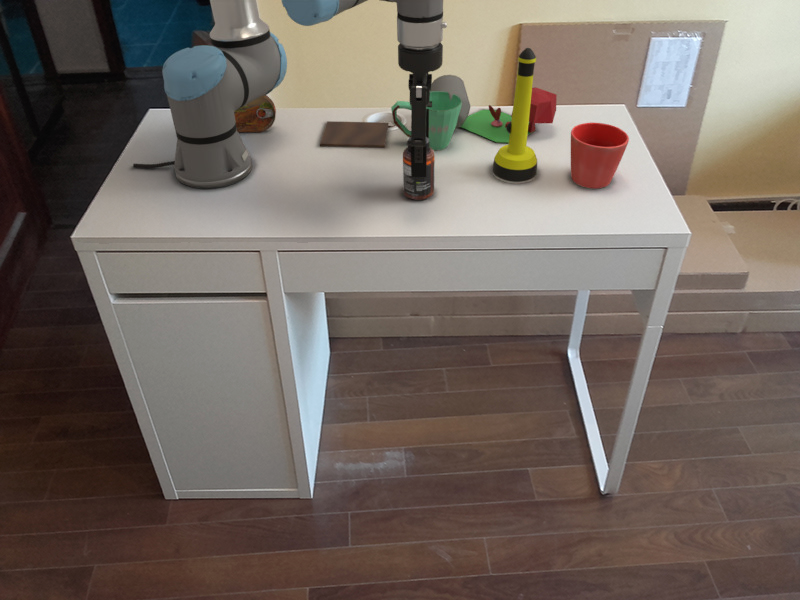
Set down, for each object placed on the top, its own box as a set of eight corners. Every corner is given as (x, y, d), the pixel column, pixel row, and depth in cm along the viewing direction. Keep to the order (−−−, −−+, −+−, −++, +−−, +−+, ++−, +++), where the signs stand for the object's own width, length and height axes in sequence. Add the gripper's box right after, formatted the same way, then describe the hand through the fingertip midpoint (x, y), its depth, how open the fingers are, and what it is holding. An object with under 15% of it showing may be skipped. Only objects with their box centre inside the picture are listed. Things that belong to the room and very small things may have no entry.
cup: (426, 110, 146) (425, 73, 150) (429, 137, 155) (427, 101, 159) (471, 107, 146) (468, 70, 150) (471, 133, 154) (468, 98, 158)
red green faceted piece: (523, 153, 144) (528, 113, 139) (452, 124, 155) (454, 85, 150) (564, 131, 153) (570, 92, 147) (494, 105, 164) (498, 67, 158)
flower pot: (603, 163, 141) (612, 119, 135) (628, 190, 133) (639, 144, 127) (555, 168, 140) (562, 124, 133) (577, 196, 131) (585, 150, 125)
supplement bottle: (423, 182, 136) (424, 129, 129) (440, 195, 132) (441, 141, 125) (397, 190, 134) (396, 137, 126) (413, 204, 130) (413, 150, 122)
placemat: (320, 146, 148) (319, 143, 148) (327, 123, 156) (327, 121, 156) (384, 147, 147) (384, 145, 147) (388, 125, 156) (388, 122, 155)
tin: (209, 133, 153) (202, 97, 148) (212, 127, 156) (205, 91, 150) (277, 131, 154) (272, 95, 148) (278, 125, 156) (274, 89, 151)
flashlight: (554, 41, 125) (505, 38, 127) (552, 59, 119) (500, 55, 120) (537, 163, 141) (494, 159, 143) (535, 185, 135) (489, 181, 136)
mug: (459, 135, 152) (462, 91, 145) (459, 156, 144) (461, 111, 138) (393, 133, 153) (393, 90, 146) (389, 154, 145) (388, 109, 139)
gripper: (441, 71, 104) (439, 192, 118) (443, 18, 124) (441, 128, 137) (392, 70, 105) (395, 192, 118) (402, 18, 124) (404, 128, 138)
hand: (420, 158), depth 128 cm, fingers open, 13 cm apart
